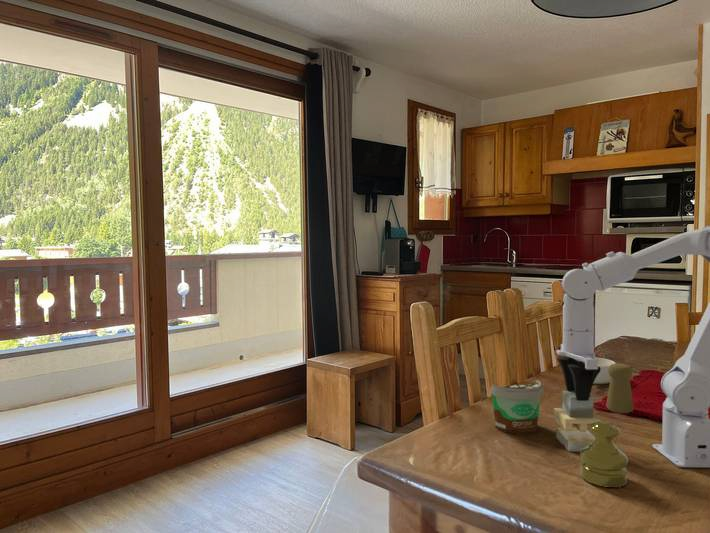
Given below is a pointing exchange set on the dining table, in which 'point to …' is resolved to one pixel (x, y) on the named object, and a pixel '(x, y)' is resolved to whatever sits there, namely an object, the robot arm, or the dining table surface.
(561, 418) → the stacked blocks
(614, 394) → the cork
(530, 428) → the food container
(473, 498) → the dining table surface
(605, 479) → the olive shiny rounded piece
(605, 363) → the saucepan
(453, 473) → the dining table surface
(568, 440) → the dock
